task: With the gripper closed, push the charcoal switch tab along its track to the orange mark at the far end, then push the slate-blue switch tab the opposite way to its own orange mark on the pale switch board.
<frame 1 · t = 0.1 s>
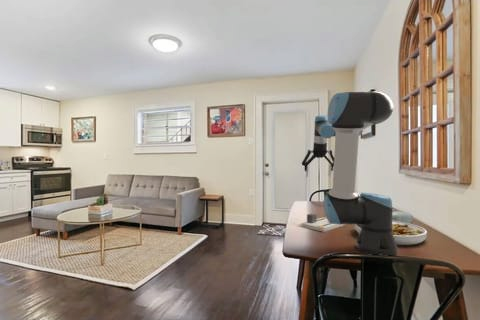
hand: (318, 175, 157), 28 cm above the table, fingers open, 13 cm apart
tab slate: (335, 218, 145), point 4 cm above the table, slide at 5.0 cm
switch board: (323, 225, 146), on the table
tab charcoal: (311, 218, 146), point 4 cm above the table, slide at -5.0 cm
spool: (399, 226, 143), on the table
bowl: (388, 237, 125), on the table
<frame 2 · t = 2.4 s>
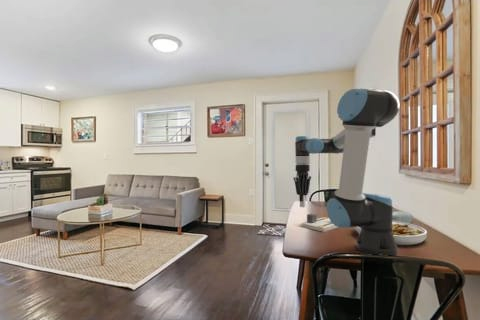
hand: (302, 206, 141), 12 cm above the table, fingers closed
nothing on the table moved.
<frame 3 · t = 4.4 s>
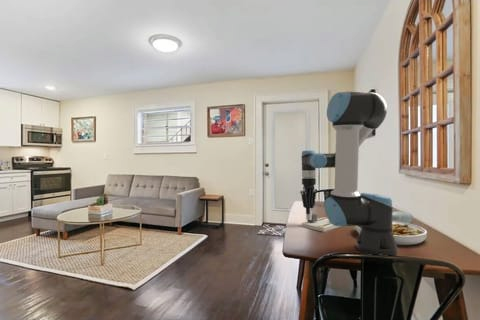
hand: (309, 219, 145), 4 cm above the table, fingers closed
tab charcoal: (312, 217, 146), point 4 cm above the table, slide at -4.7 cm, touching gripper
everything else where it was.
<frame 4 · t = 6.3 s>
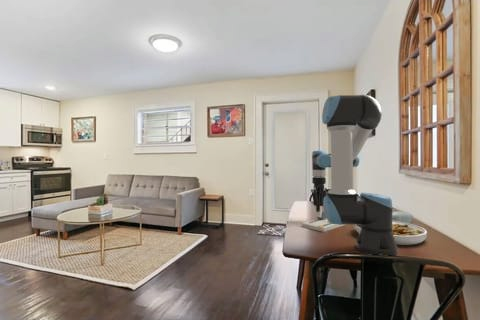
hand: (319, 216, 151), 4 cm above the table, fingers closed
tab charcoal: (321, 215, 152), point 4 cm above the table, slide at 5.1 cm, touching gripper
everything else where it was.
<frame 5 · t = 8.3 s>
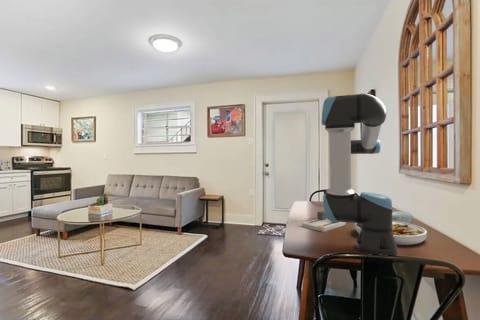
hand: (343, 204, 151), 11 cm above the table, fingers closed
tab charcoal: (321, 215, 152), point 4 cm above the table, slide at 5.1 cm
everything else where it was.
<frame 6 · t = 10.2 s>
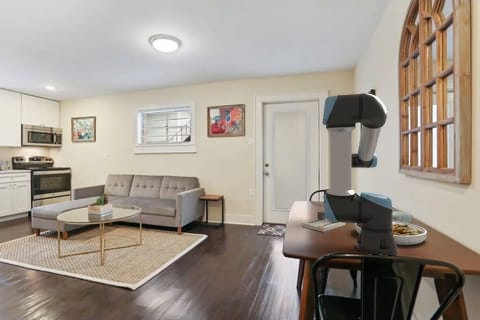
hand: (338, 218, 147), 4 cm above the table, fingers closed
tab slate: (335, 218, 145), point 4 cm above the table, slide at 4.5 cm, touching gripper
everything else where it was.
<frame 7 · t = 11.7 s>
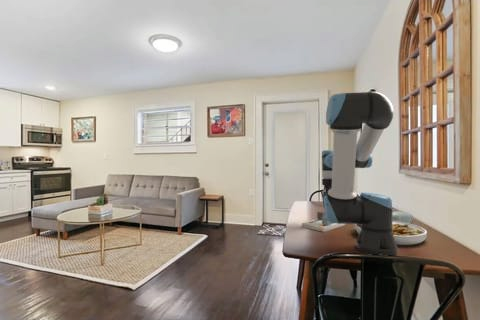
hand: (329, 220, 141), 4 cm above the table, fingers closed
tab slate: (326, 220, 140), point 4 cm above the table, slide at -4.0 cm, touching gripper
everything else where it was.
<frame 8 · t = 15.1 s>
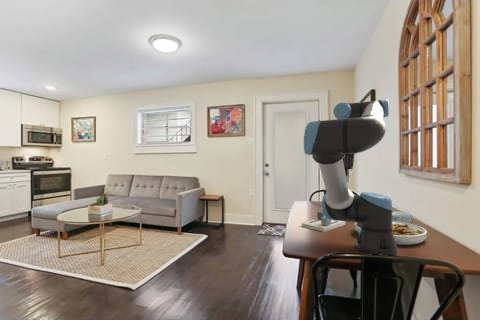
hand: (347, 182, 127), 26 cm above the table, fingers closed
tab slate: (326, 220, 139), point 4 cm above the table, slide at -4.7 cm
everything else where it was.
at the end: tab charcoal slide at 5.1 cm; tab slate slide at -4.7 cm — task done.
